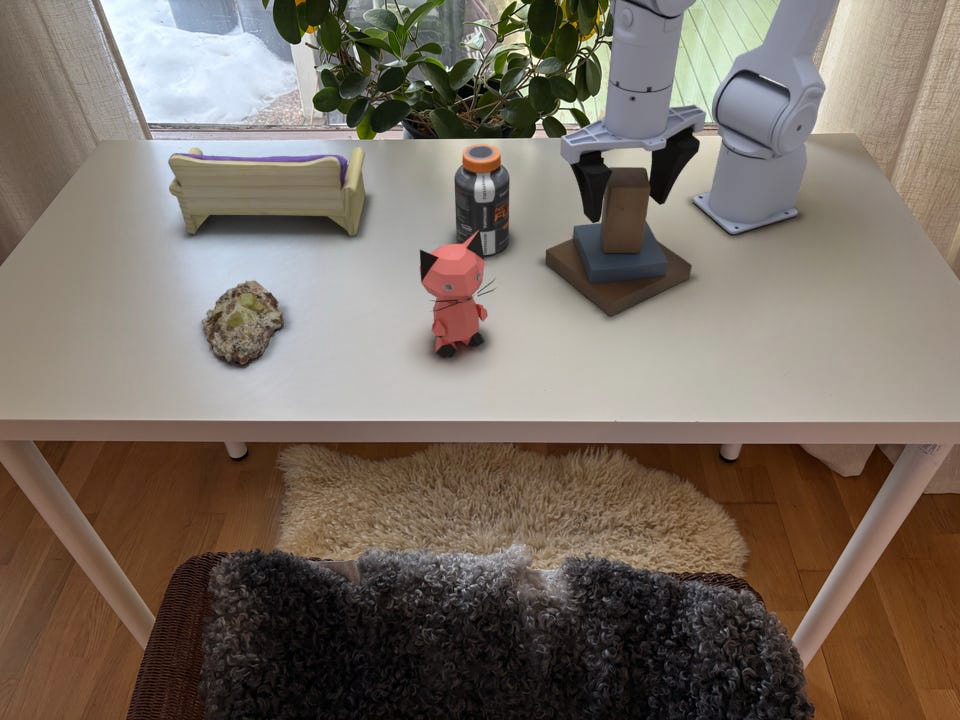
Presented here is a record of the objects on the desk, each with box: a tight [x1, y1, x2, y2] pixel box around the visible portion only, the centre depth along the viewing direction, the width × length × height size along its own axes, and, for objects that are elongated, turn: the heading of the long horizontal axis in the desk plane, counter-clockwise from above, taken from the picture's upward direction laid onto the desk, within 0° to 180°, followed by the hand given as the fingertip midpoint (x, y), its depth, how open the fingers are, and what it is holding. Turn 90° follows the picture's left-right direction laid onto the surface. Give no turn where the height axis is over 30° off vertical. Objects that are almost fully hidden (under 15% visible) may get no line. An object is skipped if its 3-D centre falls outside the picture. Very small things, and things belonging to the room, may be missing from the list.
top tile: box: [572, 220, 668, 284], centre depth 82 cm, size 8×8×2 cm
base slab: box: [544, 237, 693, 317], centre depth 83 cm, size 11×11×2 cm
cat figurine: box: [419, 230, 498, 359], centre depth 72 cm, size 7×7×12 cm
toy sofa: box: [167, 146, 366, 237], centre depth 89 cm, size 21×9×10 cm, turn 88°
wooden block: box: [600, 166, 651, 253], centre depth 79 cm, size 4×4×8 cm
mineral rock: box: [201, 280, 285, 366], centre depth 77 cm, size 11×4×8 cm
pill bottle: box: [453, 143, 511, 256], centre depth 84 cm, size 6×6×11 cm
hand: (624, 208), depth 79 cm, fingers open, 7 cm apart
